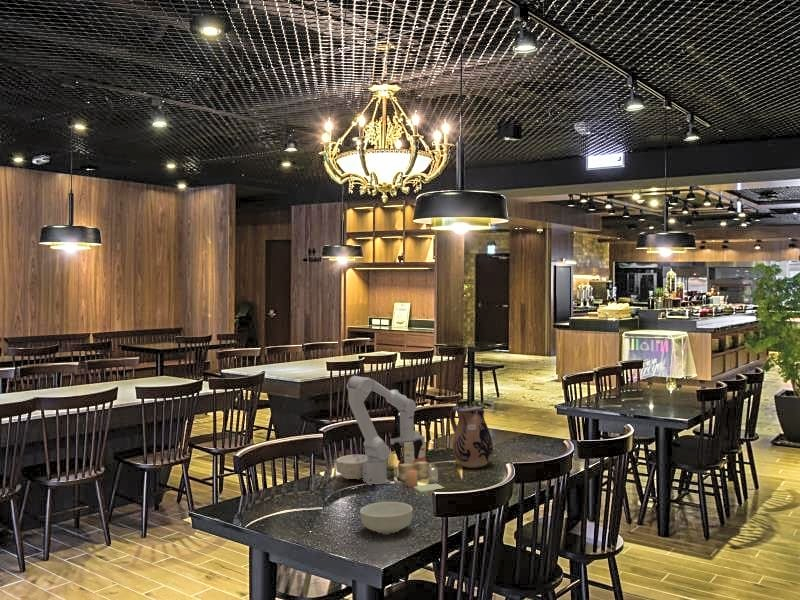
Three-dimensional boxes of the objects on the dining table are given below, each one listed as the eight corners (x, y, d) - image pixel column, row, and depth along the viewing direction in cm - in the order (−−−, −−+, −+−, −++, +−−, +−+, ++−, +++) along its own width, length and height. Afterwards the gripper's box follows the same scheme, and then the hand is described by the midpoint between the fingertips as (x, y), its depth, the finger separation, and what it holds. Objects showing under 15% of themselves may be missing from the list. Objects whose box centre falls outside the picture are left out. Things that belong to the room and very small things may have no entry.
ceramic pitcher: (480, 472, 298) (478, 413, 298) (438, 466, 311) (436, 409, 311) (501, 464, 312) (499, 406, 312) (460, 458, 325) (458, 403, 325)
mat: (421, 492, 272) (421, 491, 272) (413, 488, 278) (413, 486, 278) (444, 489, 275) (444, 487, 275) (436, 484, 282) (436, 483, 282)
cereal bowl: (411, 521, 239) (411, 499, 239) (414, 538, 222) (414, 515, 222) (361, 523, 238) (360, 501, 238) (360, 540, 222) (359, 517, 222)
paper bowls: (329, 480, 293) (329, 460, 293) (347, 471, 307) (347, 453, 307) (362, 483, 287) (362, 463, 287) (379, 474, 301) (379, 455, 300)
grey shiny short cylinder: (430, 484, 283) (430, 469, 282) (426, 482, 286) (426, 467, 286) (439, 483, 284) (439, 468, 284) (435, 481, 288) (435, 466, 288)
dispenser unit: (401, 481, 288) (401, 466, 288) (396, 478, 293) (396, 464, 293) (430, 477, 293) (430, 463, 293) (425, 474, 298) (425, 460, 298)
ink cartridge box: (426, 462, 319) (425, 429, 319) (421, 464, 315) (420, 431, 315) (409, 460, 323) (408, 428, 323) (404, 463, 319) (403, 430, 319)
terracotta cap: (409, 487, 279) (409, 472, 279) (405, 485, 283) (405, 470, 283) (419, 486, 281) (418, 471, 281) (415, 483, 284) (414, 468, 284)
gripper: (418, 423, 305) (419, 455, 305) (387, 427, 299) (388, 459, 299) (425, 426, 298) (426, 459, 298) (393, 430, 293) (394, 463, 293)
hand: (407, 459), depth 298 cm, fingers open, 7 cm apart
